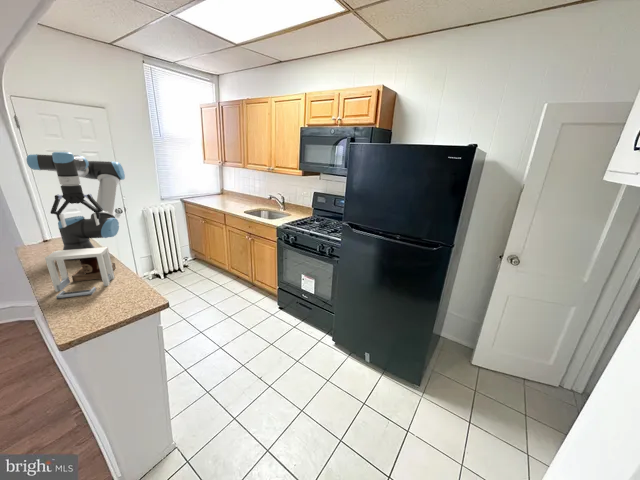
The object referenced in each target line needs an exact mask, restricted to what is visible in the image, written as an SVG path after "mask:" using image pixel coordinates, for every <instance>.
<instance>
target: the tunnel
mask: <svg viewBox="0 0 640 480" xmlns="http://www.w3.org/2000/svg"><path fill="white" fill-rule="evenodd" d="M103 256H104V257H103ZM89 257H97V260H98V264H99V268H100V272H101V277H102V279H101V280H102V283H103V287H106V286H107V287H108V286H110V284H111V282H110V281H111V280H114V279H115V272H114V271H113V268H112V263H113V262H112V260H111V255H110V251H109V247H108V246H101V248H98V247H95V248H87V249H73V250H63V249H62V250H60V249H59V250H55V251H53V252H51V253H50V254H48V255H47V256H45V257H44V260H45V263H46V266H47V269H48V272H49V276H50V279H51V281H52V285H53V288H54V292H61V291H63V289H65V287H67V286H68V285H69V284H70V283H71V281H70V278H69V274H68V271H67V267H66V263H65V259H77V258H89ZM77 260H78V259H77ZM104 260H105V262H104ZM55 261H56V264H57V266H56V264H55ZM105 264H106V266H105ZM57 267H58V268H57ZM106 268H107V269H106ZM57 269H58V270H57ZM58 271H59V274H58ZM107 273H108V274H107ZM59 275H60V276H59ZM60 277H61V280H60Z"/></svg>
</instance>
